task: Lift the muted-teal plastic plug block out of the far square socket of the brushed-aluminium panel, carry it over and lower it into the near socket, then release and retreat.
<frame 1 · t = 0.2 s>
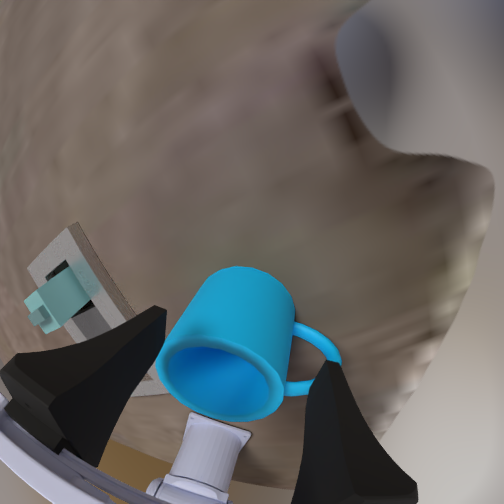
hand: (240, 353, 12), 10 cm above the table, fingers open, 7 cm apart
plug: (76, 283, 27), resting in panel
mug: (268, 314, 23), on the table
panel: (102, 322, 28), on the table
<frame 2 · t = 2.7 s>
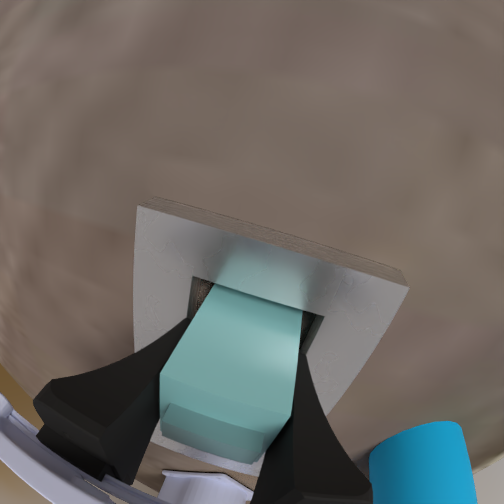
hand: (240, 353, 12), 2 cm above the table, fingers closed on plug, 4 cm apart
plug: (250, 325, 14), resting in panel, touching gripper
mug: (421, 452, 17), on the table
panel: (230, 385, 16), on the table
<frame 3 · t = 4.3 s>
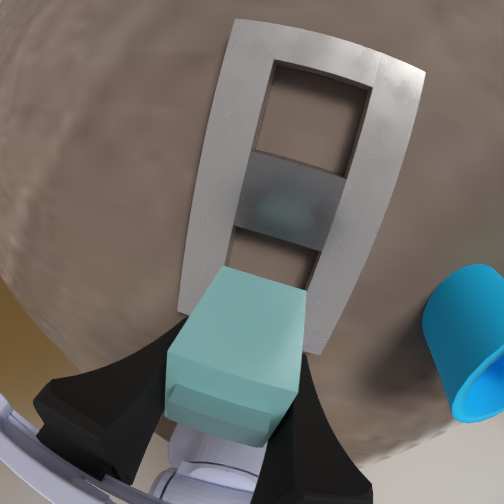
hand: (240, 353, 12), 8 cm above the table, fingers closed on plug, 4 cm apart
plug: (254, 312, 14), point 6 cm above the table, touching gripper
mug: (469, 323, 18), on the table
panel: (289, 196, 17), on the table
when the fingers open (3 cm above the table, at t = 6.0 s): plug stays where it is, resting in panel.
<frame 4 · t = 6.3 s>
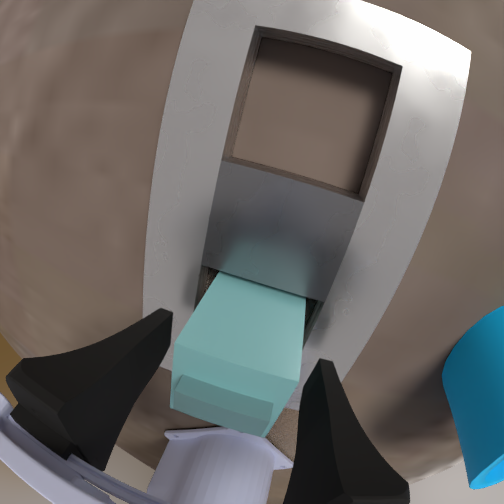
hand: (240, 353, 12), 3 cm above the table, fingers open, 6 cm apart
plug: (256, 306, 15), resting in panel
mug: (493, 367, 14), on the table
panel: (281, 223, 13), on the table
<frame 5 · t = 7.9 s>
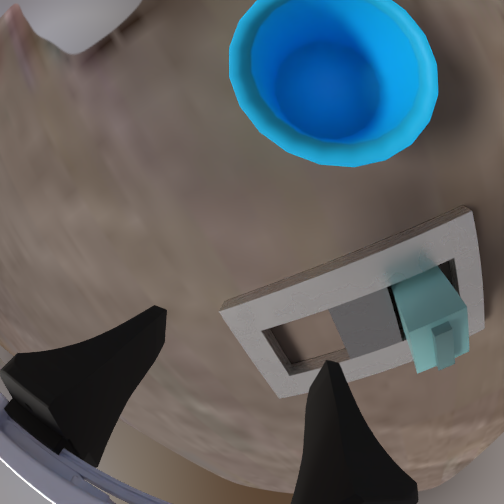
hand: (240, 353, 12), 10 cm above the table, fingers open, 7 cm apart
plug: (418, 293, 20), resting in panel
mug: (330, 65, 15), on the table
panel: (365, 315, 21), on the table
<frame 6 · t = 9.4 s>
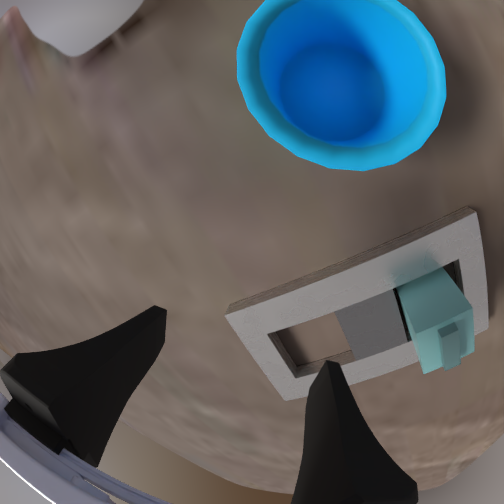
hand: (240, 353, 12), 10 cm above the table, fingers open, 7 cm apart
plug: (422, 294, 20), resting in panel
mug: (335, 67, 15), on the table
panel: (371, 316, 21), on the table
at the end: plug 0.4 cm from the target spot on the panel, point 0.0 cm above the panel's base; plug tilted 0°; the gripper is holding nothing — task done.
